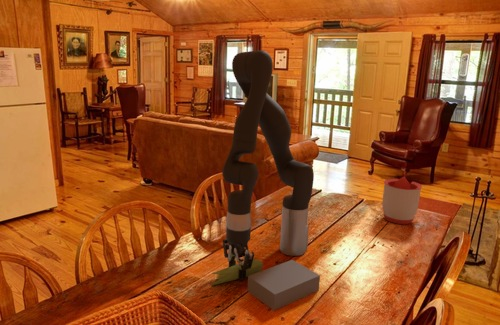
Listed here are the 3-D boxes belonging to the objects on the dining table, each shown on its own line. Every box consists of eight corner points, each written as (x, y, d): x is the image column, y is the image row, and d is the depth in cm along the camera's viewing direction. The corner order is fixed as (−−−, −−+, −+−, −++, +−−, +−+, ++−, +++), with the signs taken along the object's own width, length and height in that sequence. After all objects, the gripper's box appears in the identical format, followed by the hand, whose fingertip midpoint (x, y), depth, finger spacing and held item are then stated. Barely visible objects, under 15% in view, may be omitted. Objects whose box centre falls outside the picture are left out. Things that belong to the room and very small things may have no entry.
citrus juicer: (420, 217, 186) (426, 175, 181) (412, 229, 171) (419, 184, 166) (385, 210, 194) (390, 169, 189) (375, 221, 179) (380, 177, 174)
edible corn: (267, 262, 129) (260, 253, 133) (211, 279, 119) (204, 269, 123) (264, 274, 132) (257, 265, 135) (209, 292, 122) (203, 281, 125)
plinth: (291, 273, 132) (292, 259, 130) (318, 290, 123) (320, 275, 121) (247, 291, 121) (248, 275, 120) (273, 310, 112) (274, 294, 111)
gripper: (263, 230, 121) (260, 281, 125) (235, 215, 131) (233, 263, 135) (242, 235, 116) (240, 289, 120) (215, 220, 127) (214, 269, 131)
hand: (237, 275), depth 128 cm, fingers closed on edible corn, 4 cm apart
